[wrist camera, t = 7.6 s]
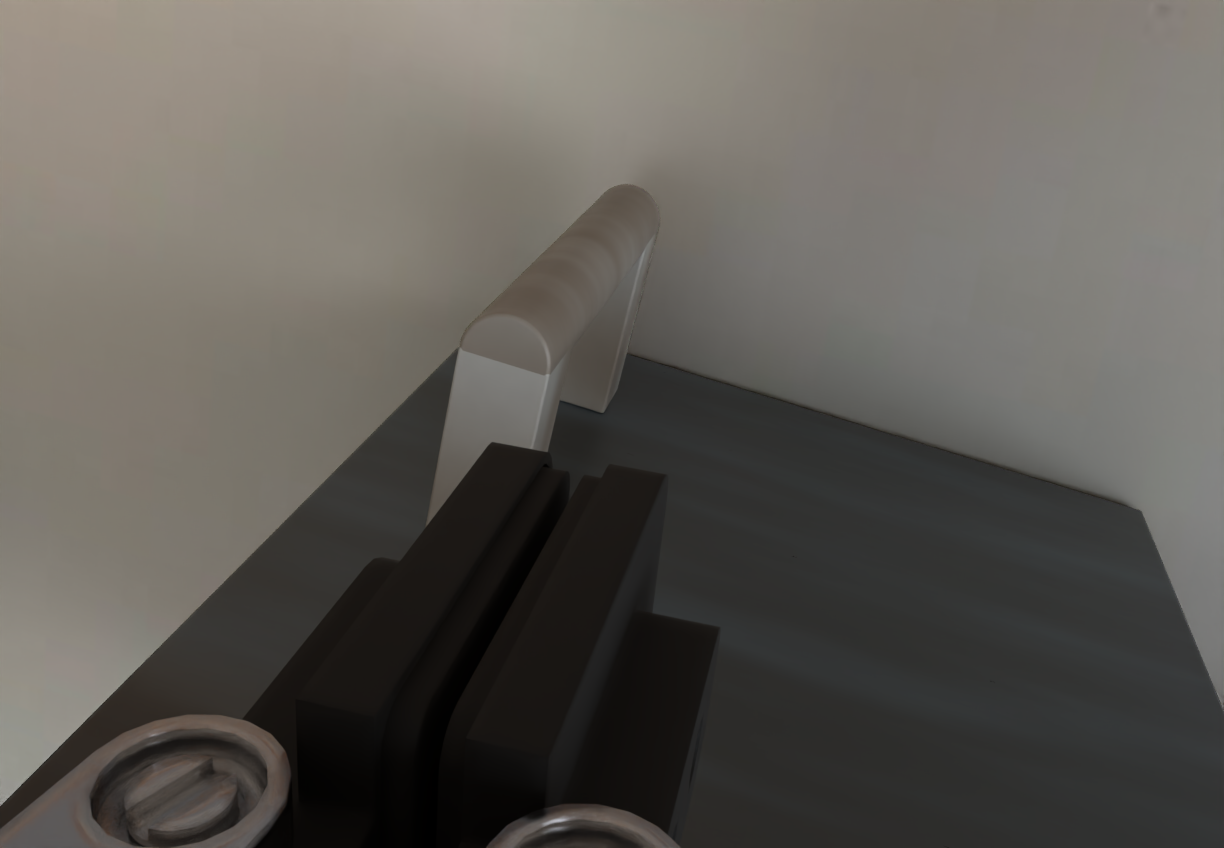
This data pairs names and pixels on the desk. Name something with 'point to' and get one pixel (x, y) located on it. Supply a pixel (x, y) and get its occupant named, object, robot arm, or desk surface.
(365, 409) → the desk surface
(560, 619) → the robot arm
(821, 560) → the cupboard door
